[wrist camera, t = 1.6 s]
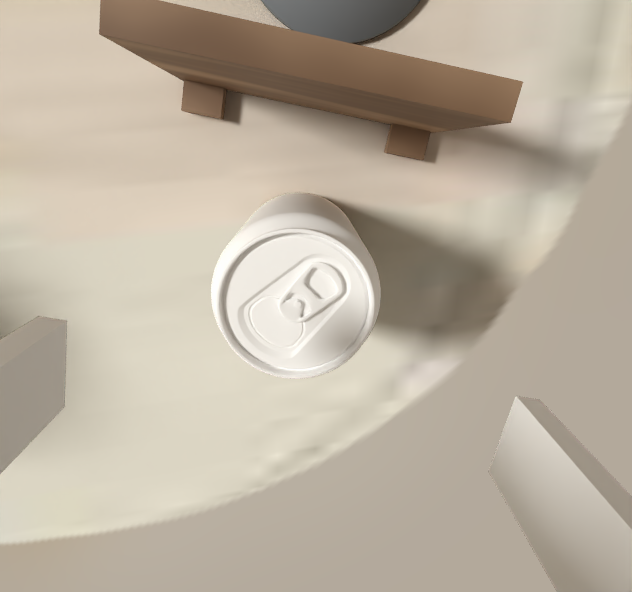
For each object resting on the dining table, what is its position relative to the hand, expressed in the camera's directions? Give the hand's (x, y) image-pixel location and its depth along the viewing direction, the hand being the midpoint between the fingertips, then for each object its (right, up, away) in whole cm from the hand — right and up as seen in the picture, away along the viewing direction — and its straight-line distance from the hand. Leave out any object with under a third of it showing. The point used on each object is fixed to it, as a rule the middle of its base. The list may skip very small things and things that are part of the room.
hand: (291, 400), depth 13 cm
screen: (0, +16, +15) cm, 22 cm away
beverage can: (0, +6, +19) cm, 20 cm away
